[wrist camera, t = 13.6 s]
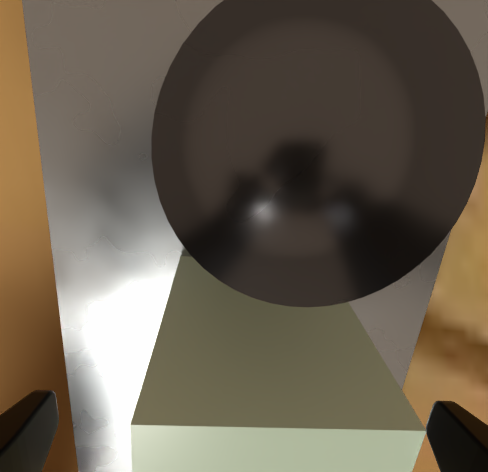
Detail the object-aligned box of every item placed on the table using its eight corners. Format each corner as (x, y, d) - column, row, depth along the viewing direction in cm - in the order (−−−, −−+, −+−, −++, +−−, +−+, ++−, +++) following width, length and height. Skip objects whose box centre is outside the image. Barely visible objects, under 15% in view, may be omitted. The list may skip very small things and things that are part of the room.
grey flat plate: (464, 9, 11) (526, -15, 9) (345, 466, 18) (361, 518, 16) (60, -36, 10) (12, -76, 8) (102, 463, 17) (83, 517, 15)
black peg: (331, 52, 9) (505, -62, 3) (335, 191, 10) (469, 289, 4) (189, 69, 9) (115, -13, 3) (210, 207, 10) (182, 323, 4)
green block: (305, 377, 13) (367, 597, 7) (178, 373, 12) (137, 600, 7) (325, 264, 11) (426, 431, 5) (180, 256, 11) (130, 424, 5)
